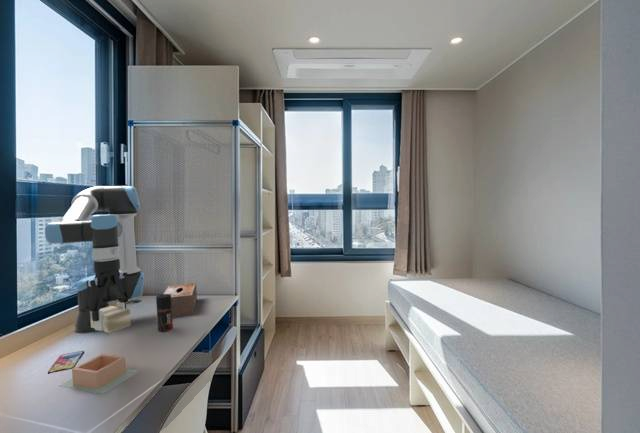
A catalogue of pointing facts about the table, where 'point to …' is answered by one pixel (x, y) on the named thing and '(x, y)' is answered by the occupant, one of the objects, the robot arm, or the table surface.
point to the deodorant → (164, 312)
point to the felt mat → (106, 387)
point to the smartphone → (66, 362)
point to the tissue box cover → (182, 298)
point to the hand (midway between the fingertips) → (110, 325)
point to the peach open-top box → (98, 371)
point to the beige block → (113, 319)
